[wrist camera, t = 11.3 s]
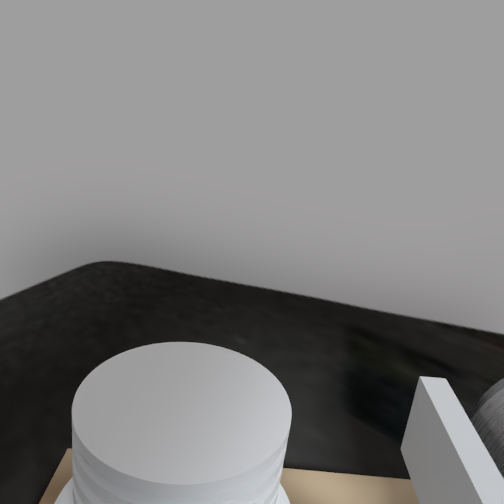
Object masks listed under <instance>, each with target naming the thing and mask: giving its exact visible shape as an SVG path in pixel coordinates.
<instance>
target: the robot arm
mask: <svg viewBox="0 0 504 504" xmlns="http://www.w3.org/2000/svg"><path fill="white" fill-rule="evenodd" d="M401 452H402V455H403V458H404V461H405V464H406V467H407V469H408V472H409V475H410V478H411V481H412V484H413V487H414V489H415V492H416V495H417V498H418V501H419V504H504V479H503V477H502V475H501V473H500V472H499V470H498V468H497V466H496V465H495V463H494V461H493V460H492V458H491V456H490V454H489V453H488V451H487V449H486V447H485V446H484V444H483V442H482V440H481V439H480V437H479V435H478V434H477V432H476V430H475V428H474V427H473V425H472V423H471V421H470V420H469V418H468V416H467V414H466V413H465V411H464V409H463V408H462V406H461V404H460V402H459V401H458V399H457V397H456V395H455V394H454V392H453V390H452V389H451V387H450V385H449V383H448V382H447V380H446V379H445V378H434V377H423V376H420V377H419V381H418V384H417V388H416V392H415V396H414V400H413V403H412V407H411V411H410V415H409V419H408V422H407V426H406V430H405V434H404V438H403V441H402V445H401Z"/></svg>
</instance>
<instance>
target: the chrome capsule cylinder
mask: <svg viewBox="0 0 504 504" xmlns="http://www.w3.org/2000/svg"><path fill="white" fill-rule="evenodd" d="M469 420H470V421H471V423H472V425H473V427H474V428H475V430H476V432H477V434H478V435H479V437H480V439H481V440H482V442H483V444H484V446H485V447H486V449H487V451H488V453H489V454H490V456H491V458H492V460H493V461H494V463H495V465H496V466H497V468H498V470H499V472H500V473H501V475H502V477H503V479H504V378H503V379H502V380H500V381H498V382H497V383H496V384H495V385H493V386H492V387H491V388H490V389H489V390H488V391H487V392H486V393H485V394H484V395H483V396H482V397H481V398H480V400H479V401H478V402H477V404H476V406H475V407H474V409H473V411H472V413H471V416H470V418H469Z"/></svg>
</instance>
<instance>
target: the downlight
mask: <svg viewBox="0 0 504 504" xmlns="http://www.w3.org/2000/svg"><path fill="white" fill-rule="evenodd" d="M291 416H292V414H291V405H290V401H289V398H288V395H287V393H286V391H285V389H284V388H283V386H282V384H281V383H280V382H279V381H278V379H277V378H276V377H275V376H274V375H273V374H272V373H271V372H270V371H269V370H267V369H266V368H265V367H263V366H262V365H261V364H259V363H258V362H256V361H254V360H253V359H251V358H249V357H247V356H245V355H242V354H240V353H238V352H235V351H232V350H229V349H226V348H223V347H219V346H214V345H209V344H203V343H193V342H167V343H157V344H151V345H146V346H142V347H138V348H134V349H131V350H128V351H125V352H123V353H120V354H118V355H116V356H114V357H112V358H110V359H108V360H106V361H105V362H103V363H102V364H100V365H99V366H98V367H96V368H95V369H94V370H93V371H92V372H91V373H90V374H89V375H88V376H87V377H86V378H85V379H84V380H83V382H82V383H81V385H80V386H79V388H78V390H77V392H76V394H75V397H74V400H73V405H72V452H73V454H72V472H73V477H72V478H71V479H70V480H69V482H68V483H67V484H66V485H65V487H64V488H63V490H62V491H61V493H60V494H59V496H58V498H57V500H56V501H55V503H54V504H290V502H289V499H288V497H287V495H286V493H285V491H284V489H283V487H282V485H281V484H280V479H281V474H282V469H283V461H284V457H285V452H286V447H287V439H288V435H289V430H290V425H291Z"/></svg>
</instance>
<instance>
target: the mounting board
mask: <svg viewBox="0 0 504 504" xmlns="http://www.w3.org/2000/svg"><path fill="white" fill-rule="evenodd" d="M72 454H73V452H72V449H69V448H68V449H67V451H66V453H65V455H64V457H63V459H62V461H61V463H60V464H59V466H58V468H57V470H56V472H55V474H54V476H53V478H52V480H51V481H50V483H49V485H48V487H47V489H46V491H45V493H44V495H43V497H42V498H41V500H40V502H39V504H54V503H55V501H56V500H57V498H58V496H59V494H60V493H61V491H62V490H63V488H64V487H65V485H66V484H67V483H68V482H69V480H70V479H71V478H72V477H73V472H72ZM280 484H281V485H282V487H283V489H284V491H285V493H286V495H287V497H288V499H289V502H290V504H419V501H418V498H417V495H416V492H415V489H414V487H413V484H412V481H411V480H408V479H397V478H387V477H376V476H365V475H354V474H343V473H332V472H321V471H310V470H299V469H288V468H283V469H282V474H281V479H280Z"/></svg>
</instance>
